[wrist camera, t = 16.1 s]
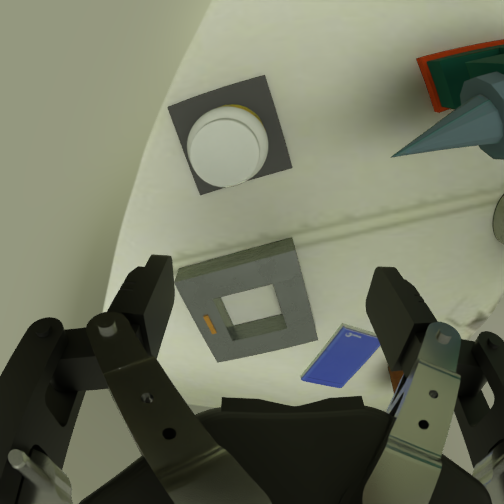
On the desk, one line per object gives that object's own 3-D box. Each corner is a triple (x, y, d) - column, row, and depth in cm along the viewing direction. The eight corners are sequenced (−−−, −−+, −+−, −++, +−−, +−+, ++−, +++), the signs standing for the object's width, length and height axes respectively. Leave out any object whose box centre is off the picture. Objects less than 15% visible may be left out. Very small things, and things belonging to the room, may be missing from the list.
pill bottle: (273, 149, 30) (285, 178, 21) (217, 172, 32) (202, 212, 22) (249, 93, 28) (249, 93, 18) (191, 119, 29) (162, 133, 19)
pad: (264, 75, 27) (264, 75, 27) (291, 166, 32) (292, 167, 31) (168, 106, 29) (167, 107, 28) (201, 193, 33) (200, 195, 33)
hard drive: (343, 328, 42) (301, 380, 47) (386, 340, 43) (342, 388, 49) (341, 320, 43) (299, 373, 48) (383, 333, 45) (340, 382, 50)
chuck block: (291, 237, 36) (295, 250, 33) (314, 324, 42) (318, 340, 40) (178, 268, 38) (173, 283, 35) (218, 347, 44) (217, 363, 41)
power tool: (335, 155, 31) (433, 242, 14) (308, 95, 28) (397, 105, 11) (524, 86, 25) (636, 118, 8) (511, 38, 22) (625, 50, 4)
